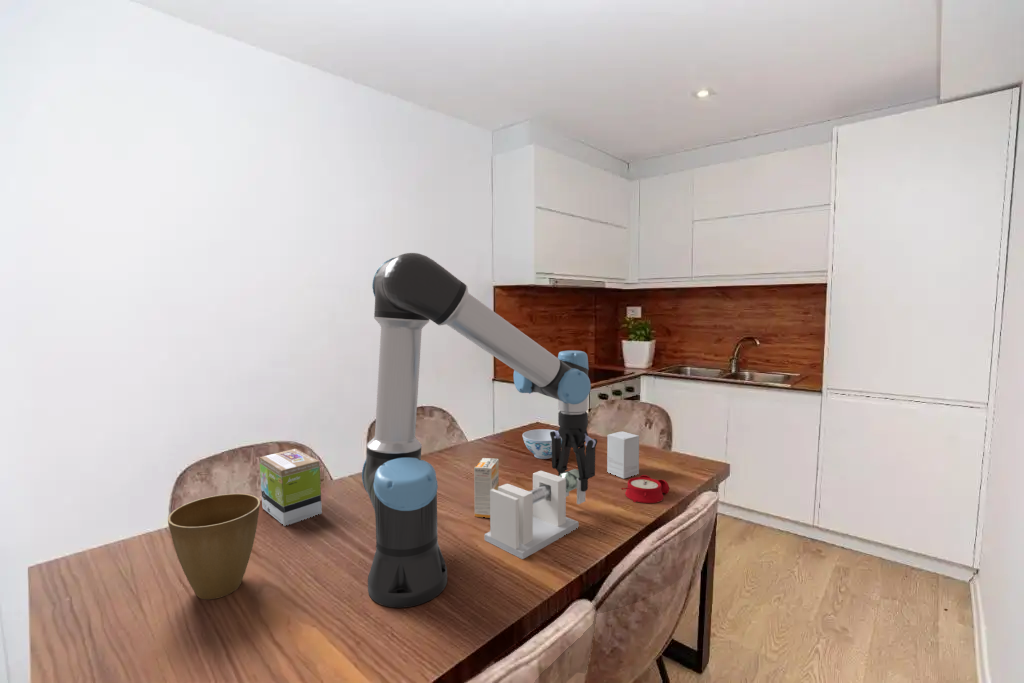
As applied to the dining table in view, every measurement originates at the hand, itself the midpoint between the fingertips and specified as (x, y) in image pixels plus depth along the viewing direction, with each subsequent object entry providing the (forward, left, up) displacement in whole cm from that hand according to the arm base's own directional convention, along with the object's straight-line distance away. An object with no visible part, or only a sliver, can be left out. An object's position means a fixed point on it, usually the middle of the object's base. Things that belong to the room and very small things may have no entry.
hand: (572, 499), depth 124 cm
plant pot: (-74, +29, -4) cm, 79 cm away
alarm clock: (+24, -8, -4) cm, 26 cm away
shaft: (-10, 0, +3) cm, 10 cm away
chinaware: (+30, +36, -4) cm, 47 cm away
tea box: (-51, +54, -4) cm, 74 cm away
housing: (-16, 0, -4) cm, 16 cm away
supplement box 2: (+34, +6, -4) cm, 35 cm away
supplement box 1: (-15, +17, -4) cm, 23 cm away
